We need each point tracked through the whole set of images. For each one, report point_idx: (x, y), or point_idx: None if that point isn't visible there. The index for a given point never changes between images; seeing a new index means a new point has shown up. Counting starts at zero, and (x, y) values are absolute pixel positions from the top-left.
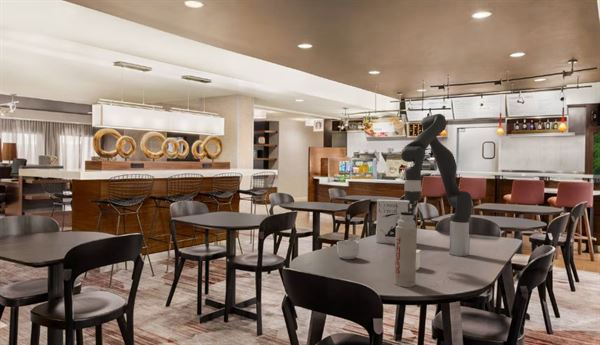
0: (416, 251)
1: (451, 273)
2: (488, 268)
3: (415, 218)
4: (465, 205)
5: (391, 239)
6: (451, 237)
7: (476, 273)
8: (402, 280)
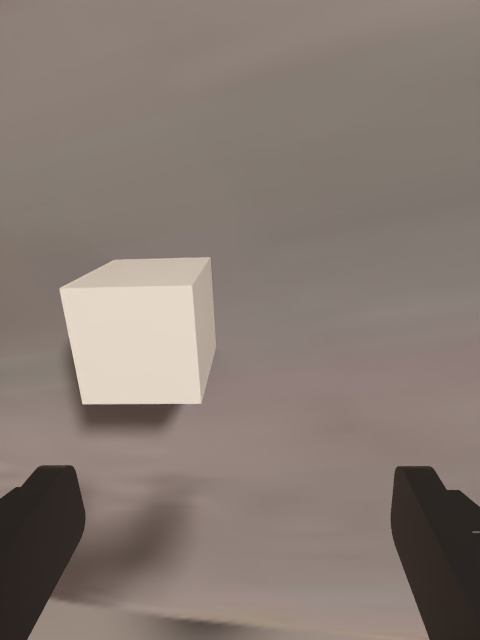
0: (114, 388)
1: (160, 493)
2: (356, 611)
3: (432, 630)
4: None
5: None
6: None
7: (224, 574)
8: None
